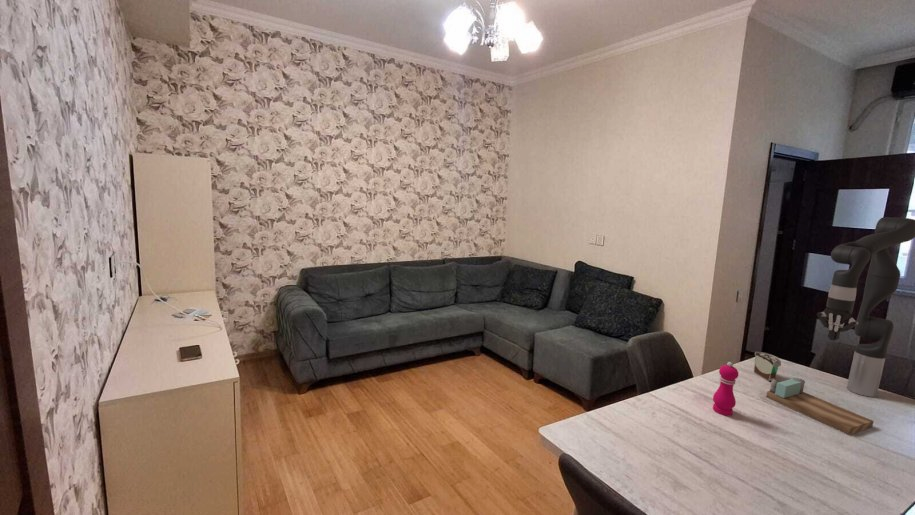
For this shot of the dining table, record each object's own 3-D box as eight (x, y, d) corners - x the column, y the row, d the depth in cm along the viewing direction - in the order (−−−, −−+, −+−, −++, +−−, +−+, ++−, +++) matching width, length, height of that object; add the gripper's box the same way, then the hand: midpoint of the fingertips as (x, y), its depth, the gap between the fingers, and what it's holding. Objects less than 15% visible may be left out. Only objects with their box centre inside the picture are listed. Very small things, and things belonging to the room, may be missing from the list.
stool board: (788, 391, 169) (792, 375, 168) (872, 427, 145) (876, 408, 143) (766, 397, 164) (769, 380, 163) (848, 434, 139) (852, 415, 138)
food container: (785, 384, 177) (789, 362, 175) (771, 383, 177) (774, 362, 175) (764, 371, 189) (768, 351, 187) (751, 370, 189) (754, 351, 187)
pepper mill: (726, 407, 155) (734, 358, 152) (737, 417, 148) (746, 367, 145) (707, 405, 156) (715, 357, 152) (717, 415, 149) (725, 365, 145)
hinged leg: (793, 388, 167) (795, 376, 166) (804, 392, 163) (807, 381, 162) (773, 393, 161) (775, 382, 160) (785, 398, 158) (787, 386, 157)
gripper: (869, 301, 149) (859, 345, 152) (826, 292, 161) (818, 333, 164) (858, 302, 146) (848, 347, 149) (815, 293, 158) (807, 334, 161)
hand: (832, 339), depth 156 cm, fingers closed
